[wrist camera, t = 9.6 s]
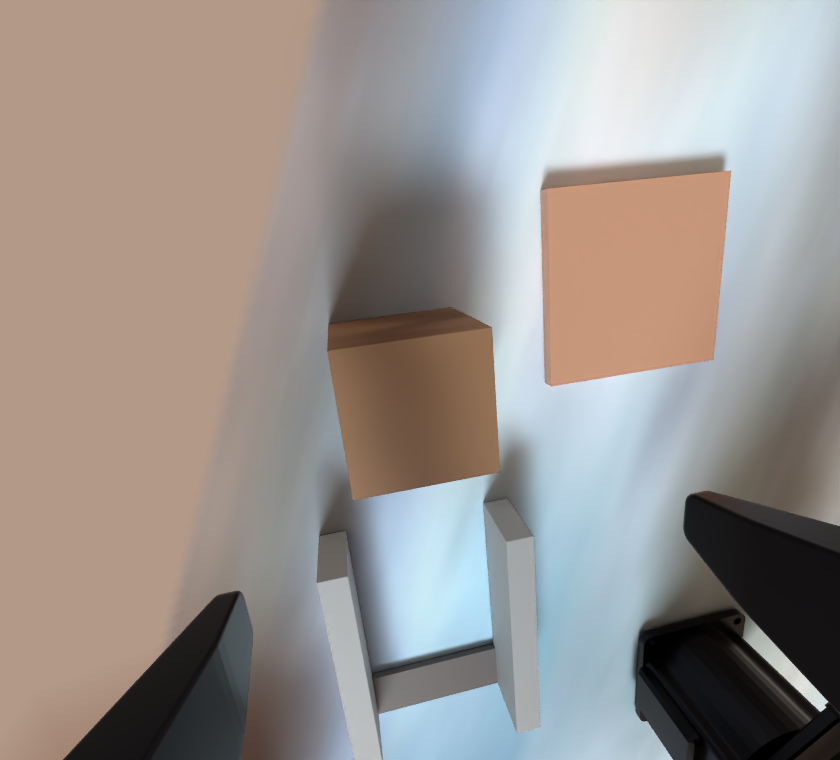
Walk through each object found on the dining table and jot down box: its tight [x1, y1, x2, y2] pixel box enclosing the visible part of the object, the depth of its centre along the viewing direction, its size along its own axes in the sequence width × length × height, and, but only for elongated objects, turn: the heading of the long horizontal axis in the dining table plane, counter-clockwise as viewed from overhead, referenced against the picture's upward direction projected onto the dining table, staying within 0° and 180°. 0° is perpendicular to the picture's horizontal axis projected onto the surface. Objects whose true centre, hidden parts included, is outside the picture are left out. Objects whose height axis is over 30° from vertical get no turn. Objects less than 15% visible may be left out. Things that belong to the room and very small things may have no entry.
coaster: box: [541, 171, 731, 386], centre depth 19 cm, size 8×8×1 cm
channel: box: [317, 498, 540, 760], centre depth 21 cm, size 9×11×3 cm
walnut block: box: [327, 307, 500, 500], centre depth 16 cm, size 5×5×5 cm
